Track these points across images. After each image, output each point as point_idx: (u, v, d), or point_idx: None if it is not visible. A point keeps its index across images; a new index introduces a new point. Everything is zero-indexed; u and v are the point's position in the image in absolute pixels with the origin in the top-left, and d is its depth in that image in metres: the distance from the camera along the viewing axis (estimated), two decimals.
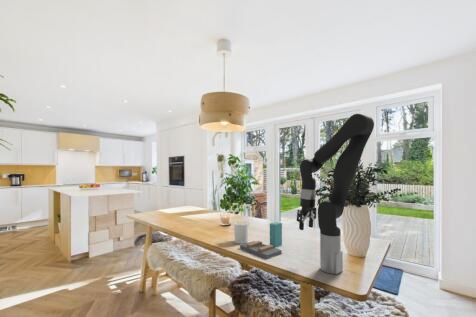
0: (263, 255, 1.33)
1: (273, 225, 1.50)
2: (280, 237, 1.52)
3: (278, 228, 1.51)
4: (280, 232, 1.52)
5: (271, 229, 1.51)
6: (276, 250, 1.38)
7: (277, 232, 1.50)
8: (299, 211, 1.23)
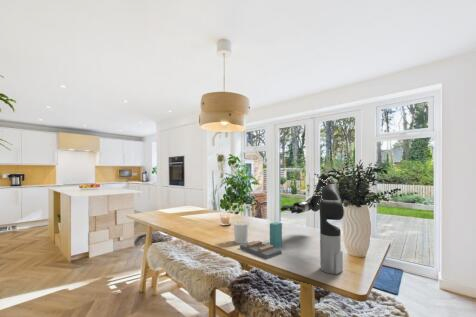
0: (263, 255, 1.33)
1: (273, 225, 1.50)
2: (280, 237, 1.52)
3: (278, 228, 1.51)
4: (280, 232, 1.52)
5: (271, 229, 1.51)
6: (276, 250, 1.38)
7: (277, 232, 1.50)
8: None
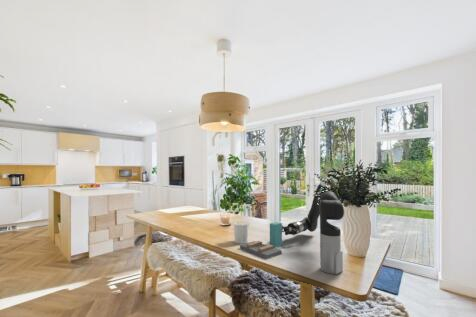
0: (263, 255, 1.33)
1: (273, 225, 1.50)
2: (280, 237, 1.52)
3: (278, 228, 1.51)
4: (280, 232, 1.52)
5: (271, 229, 1.51)
6: (276, 250, 1.38)
7: (277, 232, 1.50)
8: None
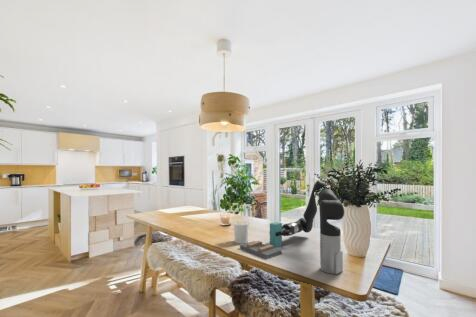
0: (263, 255, 1.33)
1: (273, 225, 1.50)
2: (280, 237, 1.52)
3: (278, 228, 1.51)
4: None
5: (271, 229, 1.51)
6: (276, 250, 1.38)
7: None
8: None
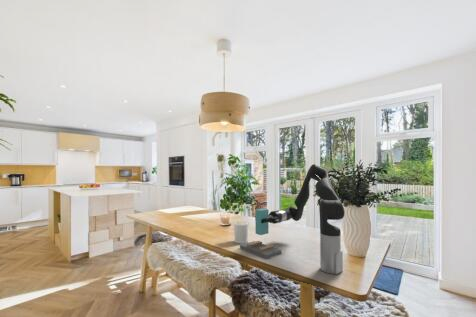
0: (263, 255, 1.33)
1: (259, 211, 1.42)
2: (266, 224, 1.44)
3: (264, 214, 1.43)
4: None
5: (257, 216, 1.43)
6: (276, 250, 1.38)
7: None
8: None
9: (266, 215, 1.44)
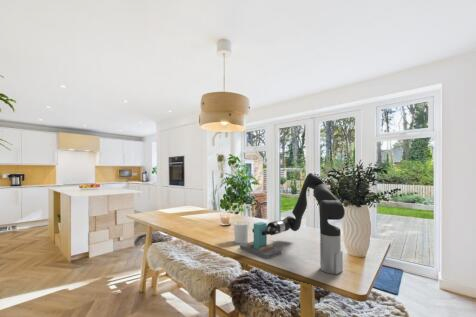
0: (263, 255, 1.33)
1: (257, 225, 1.41)
2: (265, 238, 1.43)
3: (262, 228, 1.42)
4: None
5: (255, 230, 1.42)
6: (276, 250, 1.38)
7: (261, 233, 1.41)
8: None
9: (264, 229, 1.43)
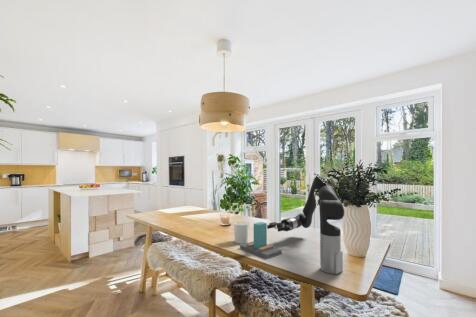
0: (263, 255, 1.33)
1: (257, 225, 1.41)
2: (265, 238, 1.43)
3: (262, 228, 1.42)
4: (265, 233, 1.43)
5: (255, 230, 1.42)
6: (276, 250, 1.38)
7: (261, 233, 1.41)
8: None
9: (264, 229, 1.43)
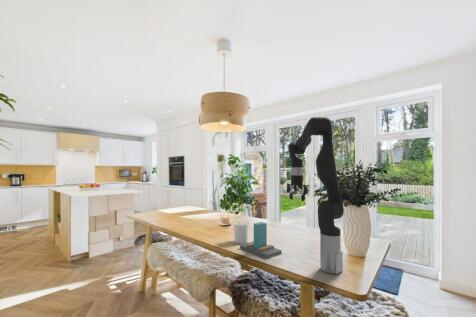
0: (263, 255, 1.33)
1: (257, 225, 1.41)
2: (265, 238, 1.43)
3: (262, 228, 1.42)
4: (265, 233, 1.43)
5: (255, 230, 1.42)
6: (276, 250, 1.38)
7: (261, 233, 1.41)
8: None
9: (264, 229, 1.43)
